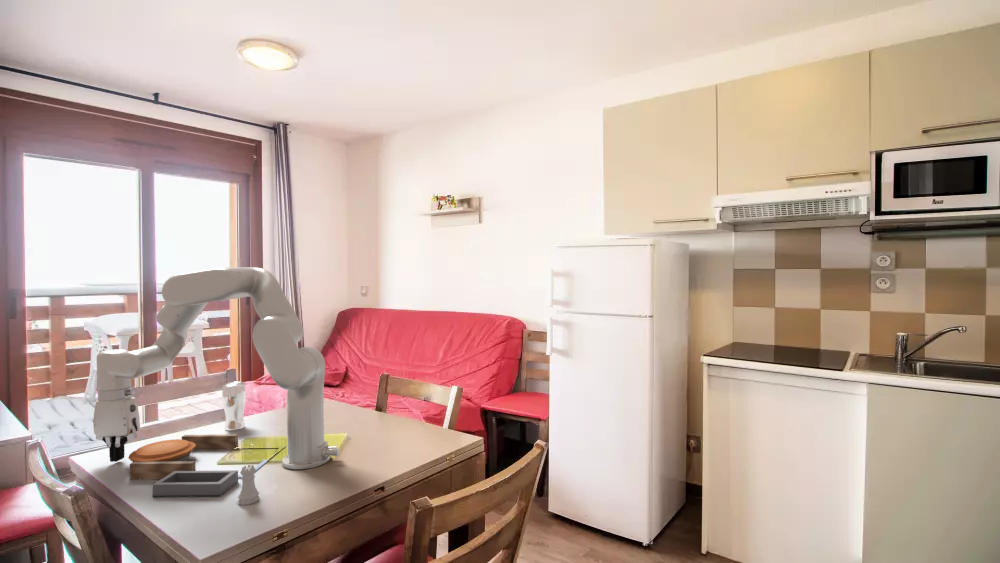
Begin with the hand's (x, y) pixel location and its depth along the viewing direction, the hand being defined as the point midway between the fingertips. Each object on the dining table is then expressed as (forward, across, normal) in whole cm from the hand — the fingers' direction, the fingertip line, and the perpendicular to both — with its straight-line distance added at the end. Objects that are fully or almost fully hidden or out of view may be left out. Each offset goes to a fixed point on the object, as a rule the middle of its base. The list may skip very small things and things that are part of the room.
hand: (117, 459), depth 141 cm
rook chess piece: (+1, -49, +24) cm, 54 cm away
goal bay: (+1, -34, 0) cm, 34 cm away
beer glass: (+1, -17, -30) cm, 34 cm away
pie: (+1, -13, 0) cm, 13 cm away
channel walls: (+1, -20, 0) cm, 20 cm away
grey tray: (+1, -33, +18) cm, 37 cm away
